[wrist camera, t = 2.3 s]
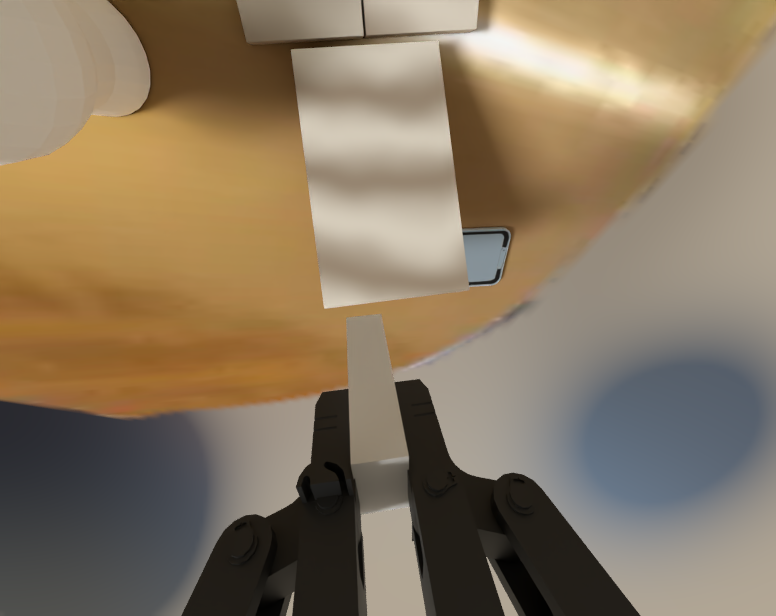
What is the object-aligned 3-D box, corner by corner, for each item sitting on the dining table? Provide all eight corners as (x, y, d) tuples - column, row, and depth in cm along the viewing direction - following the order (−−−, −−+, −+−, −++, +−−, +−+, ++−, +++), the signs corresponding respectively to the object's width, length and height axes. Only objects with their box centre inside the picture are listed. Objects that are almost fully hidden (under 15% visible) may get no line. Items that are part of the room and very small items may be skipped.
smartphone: (378, 233, 33) (512, 228, 35) (377, 229, 34) (509, 225, 35) (379, 292, 37) (499, 285, 39) (378, 288, 38) (496, 281, 40)
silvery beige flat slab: (295, 63, 24) (290, 46, 23) (433, 55, 25) (437, 37, 23) (326, 308, 24) (324, 308, 23) (462, 291, 25) (469, 289, 24)
